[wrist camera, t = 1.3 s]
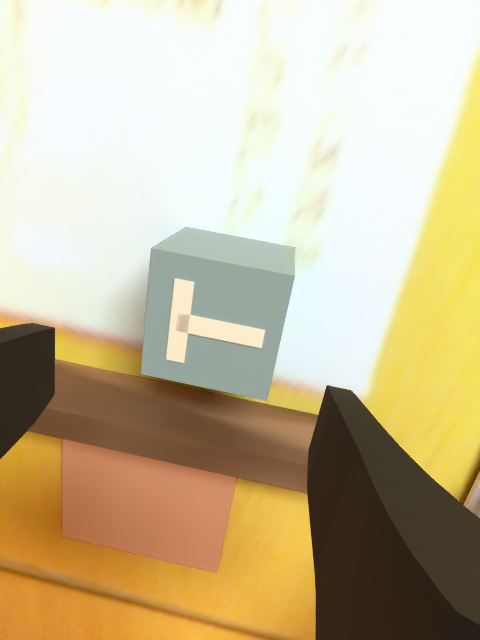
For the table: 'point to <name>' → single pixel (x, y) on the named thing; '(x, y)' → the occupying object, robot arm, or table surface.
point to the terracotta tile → (144, 505)
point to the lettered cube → (216, 311)
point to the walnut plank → (179, 425)
